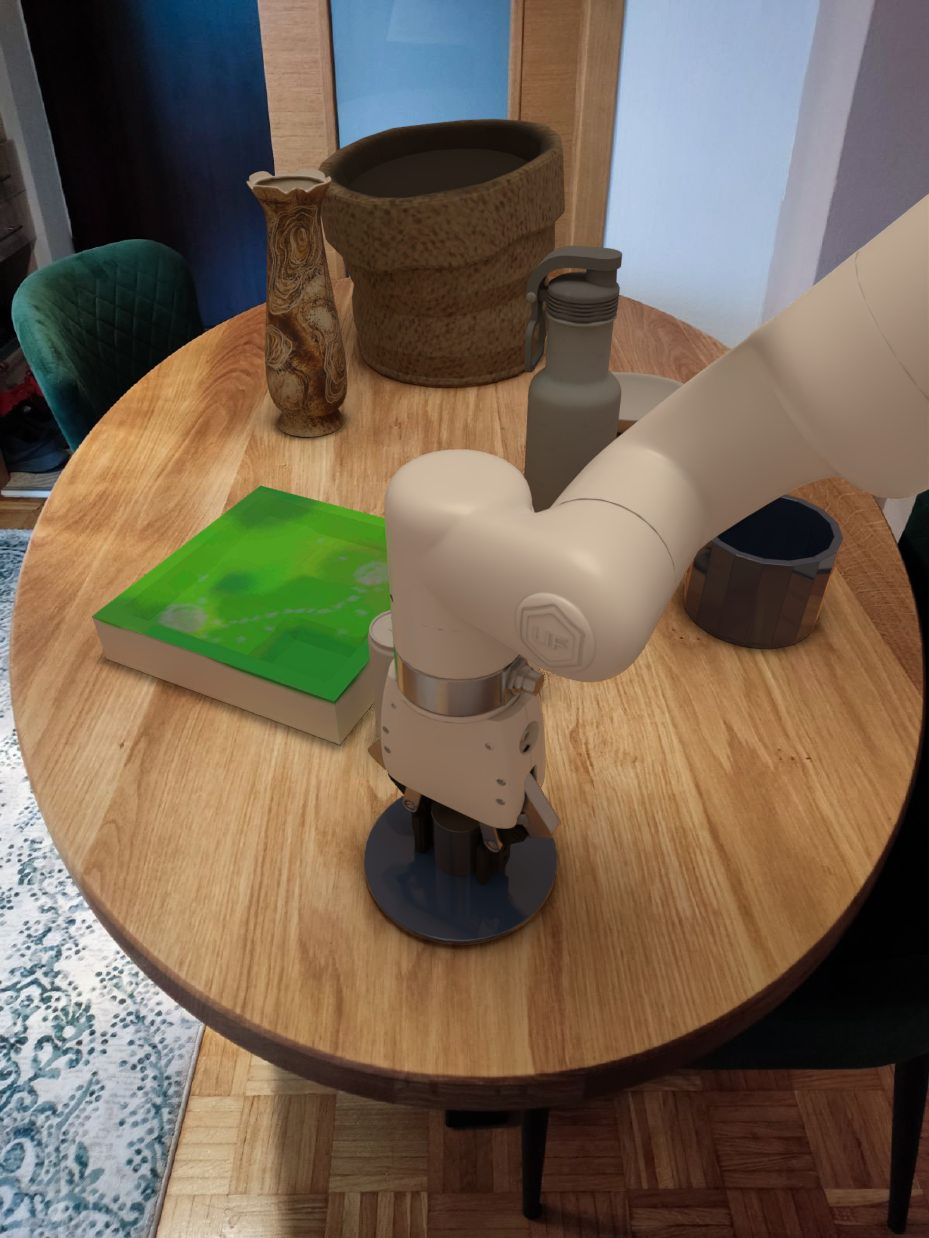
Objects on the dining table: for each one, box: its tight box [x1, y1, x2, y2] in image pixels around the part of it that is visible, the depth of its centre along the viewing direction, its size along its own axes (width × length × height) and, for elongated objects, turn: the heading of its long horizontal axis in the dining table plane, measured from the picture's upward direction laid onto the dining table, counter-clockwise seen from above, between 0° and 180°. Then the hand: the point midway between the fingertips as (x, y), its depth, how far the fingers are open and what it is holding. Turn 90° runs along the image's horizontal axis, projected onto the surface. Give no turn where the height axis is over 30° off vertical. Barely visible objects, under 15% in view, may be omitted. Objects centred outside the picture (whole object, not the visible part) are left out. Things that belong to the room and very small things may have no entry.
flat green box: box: [91, 485, 391, 745], centre depth 83 cm, size 25×25×5 cm
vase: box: [245, 168, 348, 438], centre depth 108 cm, size 10×11×30 cm
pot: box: [317, 118, 566, 388], centre depth 128 cm, size 35×35×30 cm
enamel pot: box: [683, 493, 844, 649], centre depth 83 cm, size 13×13×10 cm
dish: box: [610, 371, 685, 434], centre depth 114 cm, size 18×14×5 cm
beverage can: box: [368, 610, 394, 739], centre depth 69 cm, size 5×5×12 cm
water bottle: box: [523, 245, 623, 513], centre depth 92 cm, size 10×10×28 cm
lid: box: [363, 795, 558, 946], centre depth 61 cm, size 14×14×6 cm
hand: (460, 850), depth 62 cm, fingers open, 4 cm apart
